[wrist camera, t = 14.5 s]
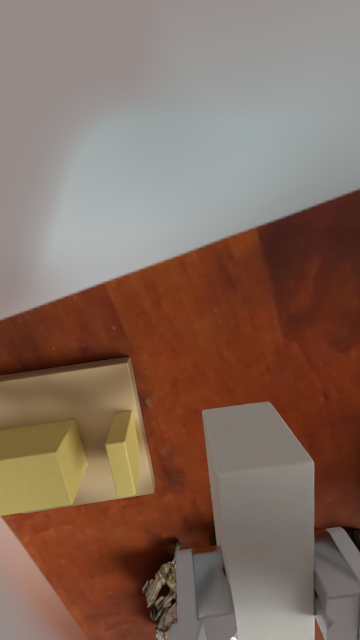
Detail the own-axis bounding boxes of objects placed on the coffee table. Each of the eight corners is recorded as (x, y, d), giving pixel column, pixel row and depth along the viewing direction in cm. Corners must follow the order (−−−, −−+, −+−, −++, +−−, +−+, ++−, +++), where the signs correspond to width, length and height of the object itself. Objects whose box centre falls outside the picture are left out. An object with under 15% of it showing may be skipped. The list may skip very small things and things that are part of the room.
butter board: (-13, 377, 23) (-26, 385, 21) (130, 356, 23) (127, 362, 21) (30, 499, 26) (22, 514, 24) (154, 480, 26) (154, 493, 25)
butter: (-3, 430, 22) (-39, 466, 18) (75, 418, 22) (56, 451, 18) (14, 475, 23) (-17, 518, 19) (88, 464, 23) (72, 505, 20)
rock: (214, 531, 28) (221, 573, 24) (224, 621, 32) (232, 669, 28) (139, 544, 28) (136, 587, 24) (159, 633, 32) (158, 682, 28)
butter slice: (115, 412, 22) (104, 444, 18) (132, 410, 22) (124, 441, 18) (125, 458, 24) (116, 498, 20) (140, 456, 24) (135, 495, 20)
